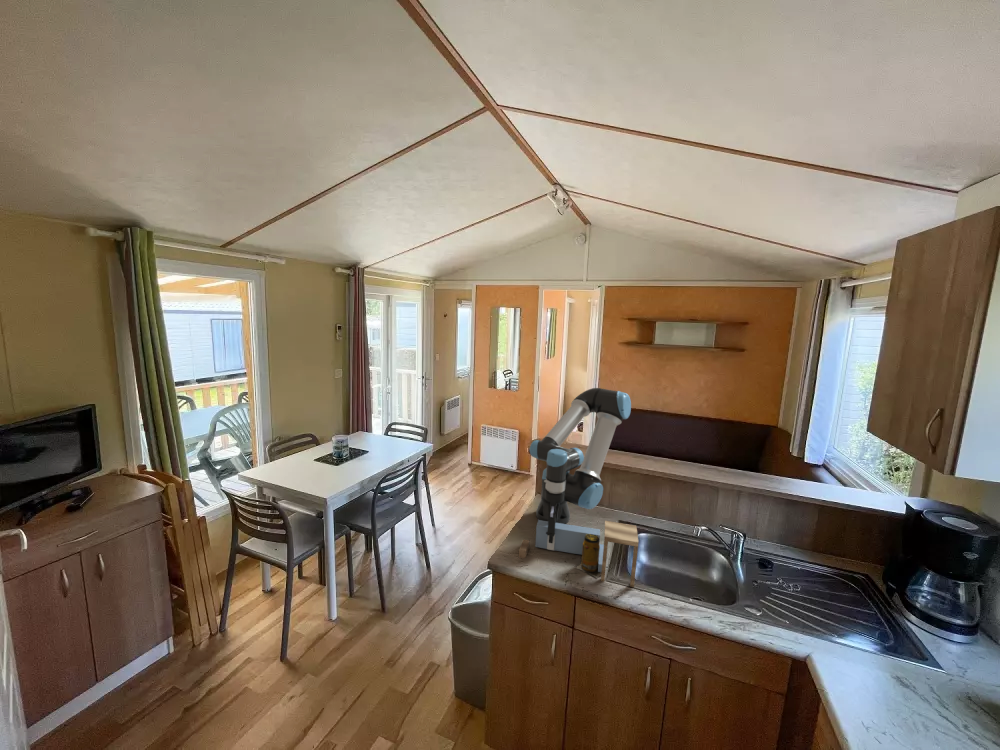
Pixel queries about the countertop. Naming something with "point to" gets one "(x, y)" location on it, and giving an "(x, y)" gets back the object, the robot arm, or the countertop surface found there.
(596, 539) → the condiment
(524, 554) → the wooden block
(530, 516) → the countertop surface
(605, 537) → the shelf
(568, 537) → the crook
